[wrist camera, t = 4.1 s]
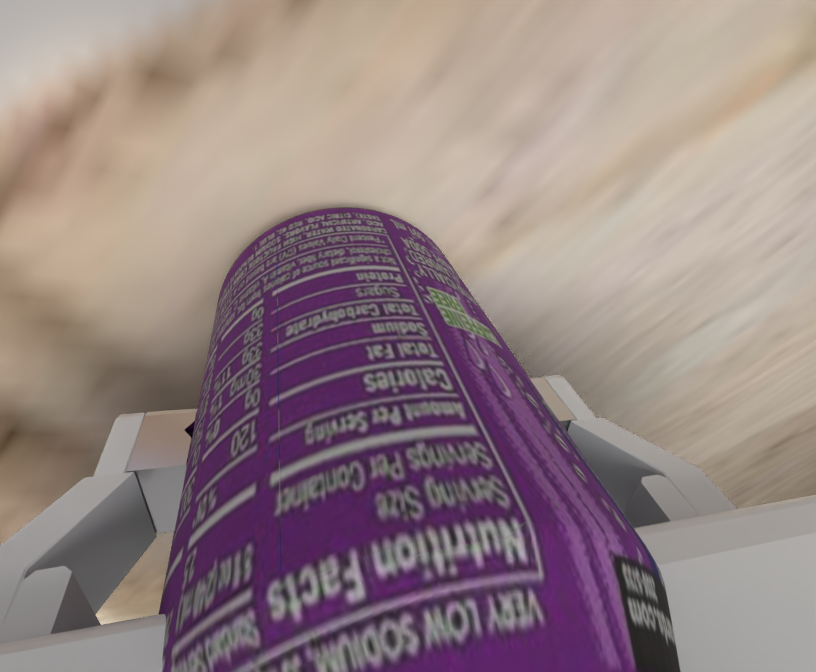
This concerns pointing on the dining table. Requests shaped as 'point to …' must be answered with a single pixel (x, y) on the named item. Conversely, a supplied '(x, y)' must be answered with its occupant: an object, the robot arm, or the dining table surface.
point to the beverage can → (390, 482)
